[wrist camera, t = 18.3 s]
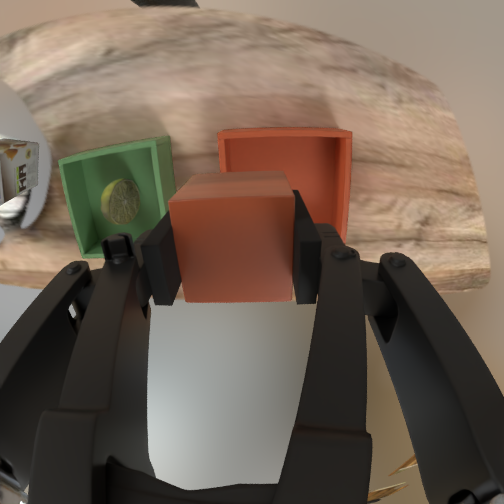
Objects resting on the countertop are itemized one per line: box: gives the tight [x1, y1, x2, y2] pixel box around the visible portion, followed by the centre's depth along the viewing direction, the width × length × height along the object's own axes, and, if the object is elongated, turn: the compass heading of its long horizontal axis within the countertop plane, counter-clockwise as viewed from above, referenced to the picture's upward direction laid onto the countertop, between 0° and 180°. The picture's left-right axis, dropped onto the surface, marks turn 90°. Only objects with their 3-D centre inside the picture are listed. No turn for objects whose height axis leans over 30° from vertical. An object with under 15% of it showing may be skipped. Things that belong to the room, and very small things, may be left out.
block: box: [168, 171, 295, 303], centre depth 14 cm, size 5×5×5 cm
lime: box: [101, 178, 140, 225], centre depth 28 cm, size 4×5×5 cm
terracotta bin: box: [217, 127, 352, 244], centre depth 28 cm, size 12×12×4 cm
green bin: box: [58, 136, 176, 259], centre depth 29 cm, size 12×12×4 cm
